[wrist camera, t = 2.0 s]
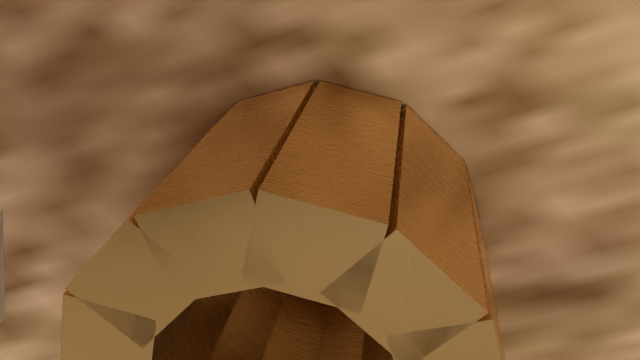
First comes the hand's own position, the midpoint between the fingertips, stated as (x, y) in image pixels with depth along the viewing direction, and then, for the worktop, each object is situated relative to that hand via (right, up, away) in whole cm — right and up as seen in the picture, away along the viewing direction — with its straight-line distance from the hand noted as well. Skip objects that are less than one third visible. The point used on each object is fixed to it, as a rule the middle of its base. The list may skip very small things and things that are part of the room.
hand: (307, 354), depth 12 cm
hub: (0, +2, +4) cm, 5 cm away
